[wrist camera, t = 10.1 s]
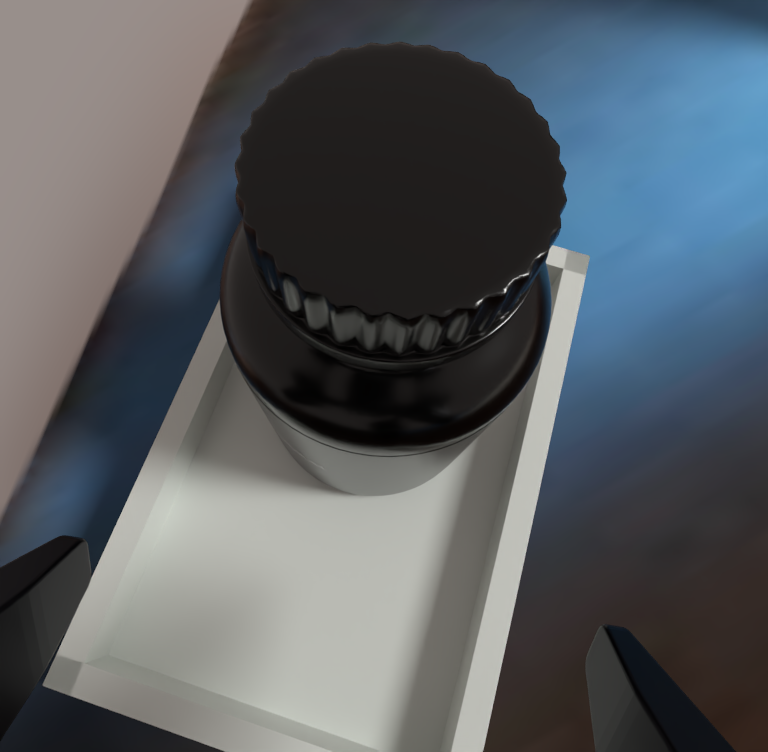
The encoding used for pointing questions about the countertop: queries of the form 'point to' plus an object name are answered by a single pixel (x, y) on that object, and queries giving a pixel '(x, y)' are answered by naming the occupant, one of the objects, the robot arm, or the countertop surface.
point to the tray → (313, 576)
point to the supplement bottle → (390, 260)
